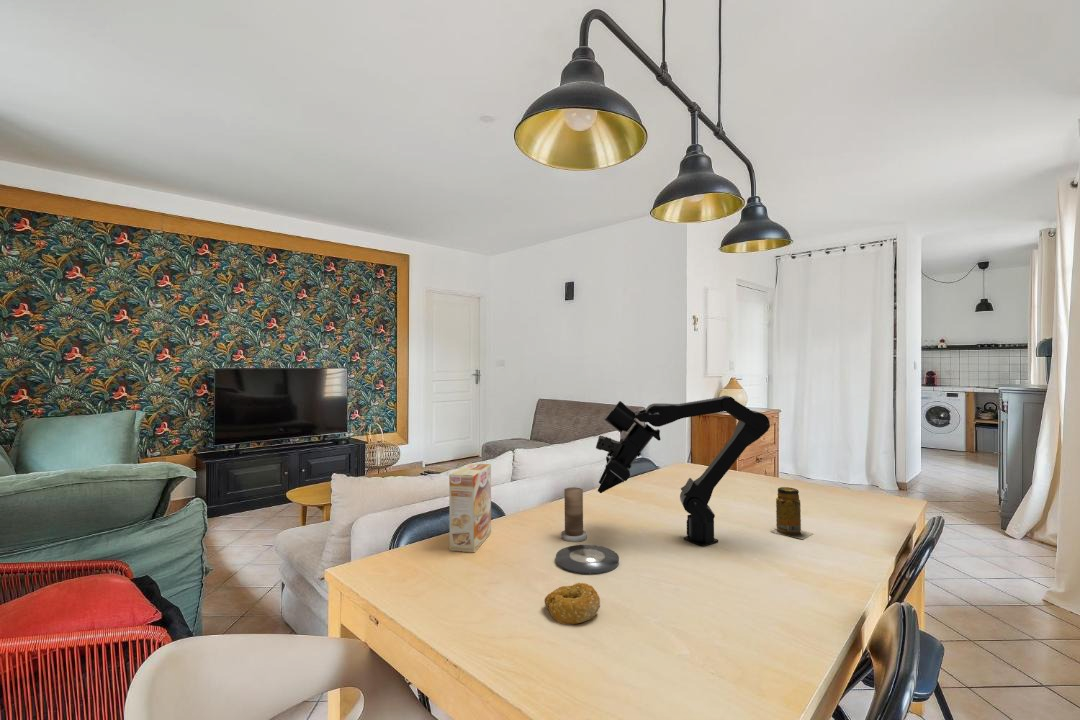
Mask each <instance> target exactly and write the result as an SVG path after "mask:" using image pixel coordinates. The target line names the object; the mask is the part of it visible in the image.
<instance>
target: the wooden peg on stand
mask: <svg viewBox="0 0 1080 720" xmlns="http://www.w3.org/2000/svg"><path fill="white" fill-rule="evenodd" d="M563 493H564V530H561V532H560V538H561V539H562V540H563V541H564V542H568V543H580V542H584V541H586V540H587V538H588V532H587V531H585V530H584V489H583V488H581V487H574V486H573V487H566V488H564V492H563Z"/></svg>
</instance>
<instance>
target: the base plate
mask: <svg viewBox="0 0 1080 720" xmlns="http://www.w3.org/2000/svg"><path fill="white" fill-rule="evenodd" d="M555 563H556V565H557V566H558V567H559V568H560V569H562V570H564V571H566V572H569V573H573V574H576V575H578V574H579V575H601V574H605V573H609V572H612V571H614V570H616V569H617V568H618V567H619V564H620V556H619V554H618V553H617V552H616V551H615V550H613V549H611V548H608V547H606V546H601V545H596V544H575V545H570V546H566V547H563V548H561V549H559V550H558V551H557V552H556V554H555Z"/></svg>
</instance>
